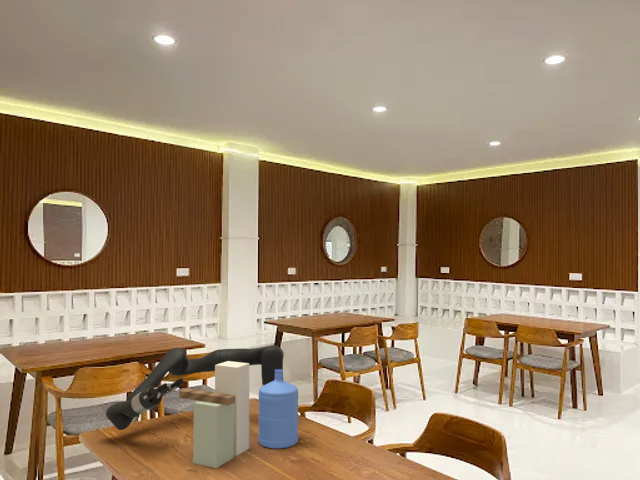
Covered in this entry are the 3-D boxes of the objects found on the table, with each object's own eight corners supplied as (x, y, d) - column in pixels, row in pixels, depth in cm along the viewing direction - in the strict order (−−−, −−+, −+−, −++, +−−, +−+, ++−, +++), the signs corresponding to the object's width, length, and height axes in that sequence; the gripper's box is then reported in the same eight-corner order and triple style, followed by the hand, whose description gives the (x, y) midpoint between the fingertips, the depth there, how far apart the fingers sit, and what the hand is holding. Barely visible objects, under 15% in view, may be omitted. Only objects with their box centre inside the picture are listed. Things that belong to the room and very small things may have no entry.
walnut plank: (179, 397, 187) (179, 390, 187) (186, 395, 191) (186, 388, 191) (228, 405, 177) (228, 398, 177) (235, 402, 181) (235, 395, 181)
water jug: (292, 450, 191) (292, 375, 192) (252, 447, 194) (253, 373, 195) (302, 436, 206) (302, 366, 207) (265, 433, 210) (265, 364, 210)
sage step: (193, 463, 180) (193, 402, 180) (211, 453, 189) (211, 395, 189) (216, 468, 175) (216, 406, 176) (233, 457, 184) (233, 399, 185)
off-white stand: (214, 451, 191) (215, 365, 191) (227, 444, 198) (227, 361, 199) (236, 455, 186) (237, 367, 187) (249, 448, 193) (249, 363, 194)
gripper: (128, 395, 191) (157, 377, 185) (156, 386, 204) (184, 369, 198) (135, 414, 189) (165, 397, 183) (163, 404, 202) (191, 387, 196)
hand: (174, 382), depth 191 cm, fingers open, 8 cm apart
